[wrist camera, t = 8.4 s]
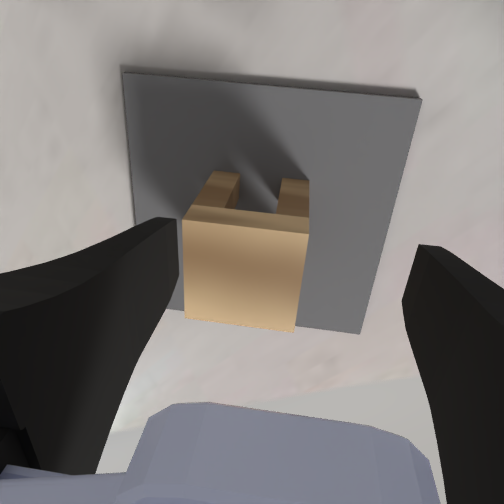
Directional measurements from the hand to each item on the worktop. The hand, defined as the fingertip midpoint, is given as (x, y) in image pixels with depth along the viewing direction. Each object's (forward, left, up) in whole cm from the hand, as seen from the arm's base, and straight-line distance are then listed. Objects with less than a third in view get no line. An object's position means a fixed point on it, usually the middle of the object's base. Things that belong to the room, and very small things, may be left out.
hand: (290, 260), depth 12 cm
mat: (+2, +4, -10) cm, 11 cm away
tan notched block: (+2, +3, -9) cm, 10 cm away
